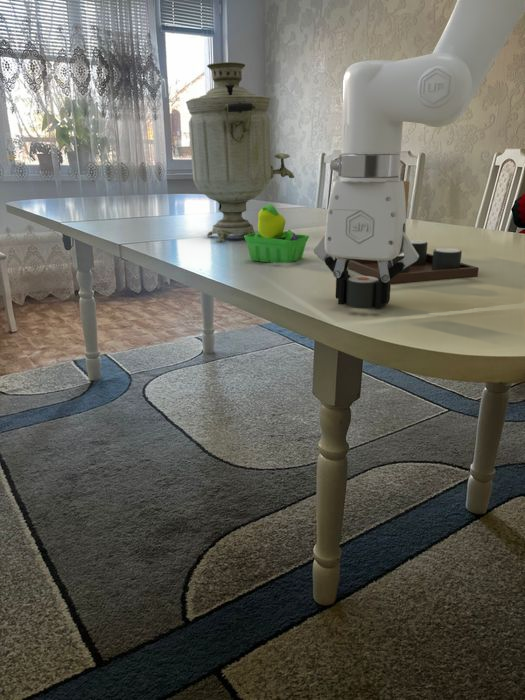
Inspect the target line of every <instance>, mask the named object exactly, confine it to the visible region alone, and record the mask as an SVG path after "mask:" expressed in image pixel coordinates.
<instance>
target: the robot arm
mask: <svg viewBox="0 0 525 700" xmlns="http://www.w3.org/2000/svg"><path fill="white" fill-rule="evenodd" d="M454 5H455V6H454V9H453V11H452V12H451V14H450V17H449V19H448V22H447V24H446V25H445V27H444V30H443V32H442V34H441V36H440V38H439V40H438V42H437V44H436V45H435V48H434V49H433V51H432V53H428V54H424V55H420V56H419V55H418V56H415V57H410V58H405V59H400V60H399V59H398V60H387V59H372V60H364V61H358V62H354V63H353V64H351V65H349V66H348V67H347V69H346V70H345V72H344V75H343V89H342V113H341V114H342V115H341V138H340V139H341V142H340V154H339V155H338V158H337V159H334V160H333V159H332V160H330V163H329V170H330V171H332V172H333V171H334V172H337V173H338V177H339V179H338V180H333V181H332V185H331V189H330V195H329V200H328V206H327V213H326V221H325V231H324V236H322V239H321V240H320V241H319V242H318V244H317V245H316V246H315V248H314V250H313V253H314V254H315V255H316V256H317V258H319V259H320V260H321V261H323V262H324V264H325V265H326V267H327V268H328V269H329V270H330V271H331V272H332V275H333V277H334V278H335V299H337V305H342V306H343V305H346V304H345V301H346V279H347V278H349V277H352V276H351V274H349V269H348V268H349V265H350V261H351V259H361V260H374V261H378V267H379V272H380V278H379V281H378V282H377V283H376V296H375V307H374V309H376V310H380V309H382V308H383V307H384V306H385V305H388V304H389V303H390V301H391V300H390V298H391V287H392V284H391V279H392V278H393V277H394V276H396V275H397V274H398V273H399V272H400V271H402V270H403V269H405V268H406V267H408V266H409V265H411V264H413V263H414V262H416V261H417V260H418V259H419V255H418V253H417V251H416V250H415V248H414V247H413V245H412V244H411V242H410V240H411V239H409V237H408V236H407V217H406V202H405V190H404V182H403V181H404V180H400V179H399V178H400V177H399V176H400V166H401V153H402V141H403V137H402V136H403V126H404V125H403V124H404V122H405V123H414V124H415V123H416V124H421V125H425V126H427V127H430V128H443V127H446V126H450V125H452V124H454V123H455V122H456V121H457V120H459V119H460V118H461V117H462V116H463V115H464V114H465V112H466V111H467V109H468V107H469V106H470V104H471V103H472V101H473V99H474V97H475V95H476V94H477V92H478V91H479V88H480V87H481V85H482V84H483V82H484V80H485V78H486V77H487V75H488V73H489V72H490V70H491V68H492V67H493V65H494V63H495V62H496V59H497V58H498V56H499V55H500V53H501V51H502V50H503V48H504V46H505V44H506V43H507V41H508V39H509V37H510V36H511V34H512V33H513V31H514V29H515V27H516V26H517V24H518V23H519V21H520V20H521V18H522V17H523V15H524V14H525V0H456V3H455V4H454ZM402 253H404V258H403V259H402V260H400V261H398V262H397V263H395V264H394V265H393V262H392V259H394V258H396V256H398V255H400V254H402Z"/></svg>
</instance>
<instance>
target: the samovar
mask: <svg viewBox="0 0 525 700" xmlns="http://www.w3.org/2000/svg"><path fill="white" fill-rule="evenodd" d="M206 67H207V68H208V69H209V70H210V71H211V77H212V81H213V82H214V84H215V87H214V88H211V89H209V90H208V91H207V92H206V93H205V94H204V95H200V96H199V97H194V98H190V99H189V100H187V101H185V104H186V107H187V110H188V114H190V115H191V116H190V118H189V121H188V132H189V144H190V157H191V169H192V180H193V183H194V185H195V187H196V188H197V190H198V191H199V192H200V193H202V194H203V195H204V196H205V197H207V198H208V199H209V200H212V201H215V202H217V203H218V212H221V214H222V218H221V219H219V220H217V222H216V223H215V224H213V225H212V229H211V231H209V232H208V233H207V235H206V237H207V238H208V237H212V236H213V235H217V236H218V237H217V238H216V242H217V243H224V242H225V240H226V239H227V238H228V237H229V236H230V235H235V236H238V235H248V234H253V233H256V232H255V229H254V226H253V224H252V223H250V221H249V220H248V219H246V218H243V215H242V214H243V213H244V212H247V203H248V202H249V201H251V200H253V199H255V198H256V197H258V196H260V195H261V194H262V192H263V191H264V190H266V188H267V187H268V185H269V184H270V182H271V180H272V179H274V175H280V176H281V178H284V177H286V176H287V177H288V178H289V179H294V178H295V175H294V173H293V172H292V171H291V170H289V169H288V168H287V167H286V166H285V161H284V160H285V159H288V158H290V156H291V155H290V154H288V153H284V152H283V153H280V152H279V153H276V154H274V158H276V159H278V160H280V167H279V168H277V169H274V168H273V165H272V163H271V161H272V159H271V131H270V126H271V125H270V118H269V117H268V114H267V112H268V109H269V106H270V100H271V98H270V97H268V96H266V95H259V94H256V93H252V92H250V91H249V89H247V88H245V87H243V86H240V83H241V81H242V79H243V73H242V70H244V68H245V67H246V64H245V63H242V62H237V61H236V62H235V61H226V62H225V61H224V62H223V61H221V62H212V63H209V64H207V65H206Z"/></svg>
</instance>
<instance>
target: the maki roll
mask: <svg viewBox="0 0 525 700" xmlns="http://www.w3.org/2000/svg"><path fill="white" fill-rule="evenodd" d="M378 281H379V279H378V278H375V277H371V276H364V275H354V276H351V277H349V278H347V279H346V301H345V304H344V305H346V306H347V307H351V308H356V309H372V308H375V296H376V283H377V282H378Z"/></svg>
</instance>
